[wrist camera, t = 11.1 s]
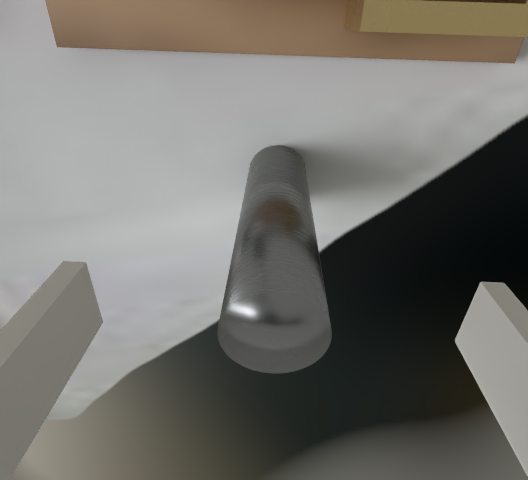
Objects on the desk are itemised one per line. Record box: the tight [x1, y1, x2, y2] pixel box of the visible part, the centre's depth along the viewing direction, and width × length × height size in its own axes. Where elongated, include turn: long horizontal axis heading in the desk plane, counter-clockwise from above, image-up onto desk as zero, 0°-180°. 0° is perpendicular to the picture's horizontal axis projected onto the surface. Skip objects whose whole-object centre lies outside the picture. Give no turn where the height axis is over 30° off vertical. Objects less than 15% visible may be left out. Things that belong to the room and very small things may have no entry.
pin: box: [218, 146, 332, 373], centre depth 16 cm, size 3×3×13 cm
